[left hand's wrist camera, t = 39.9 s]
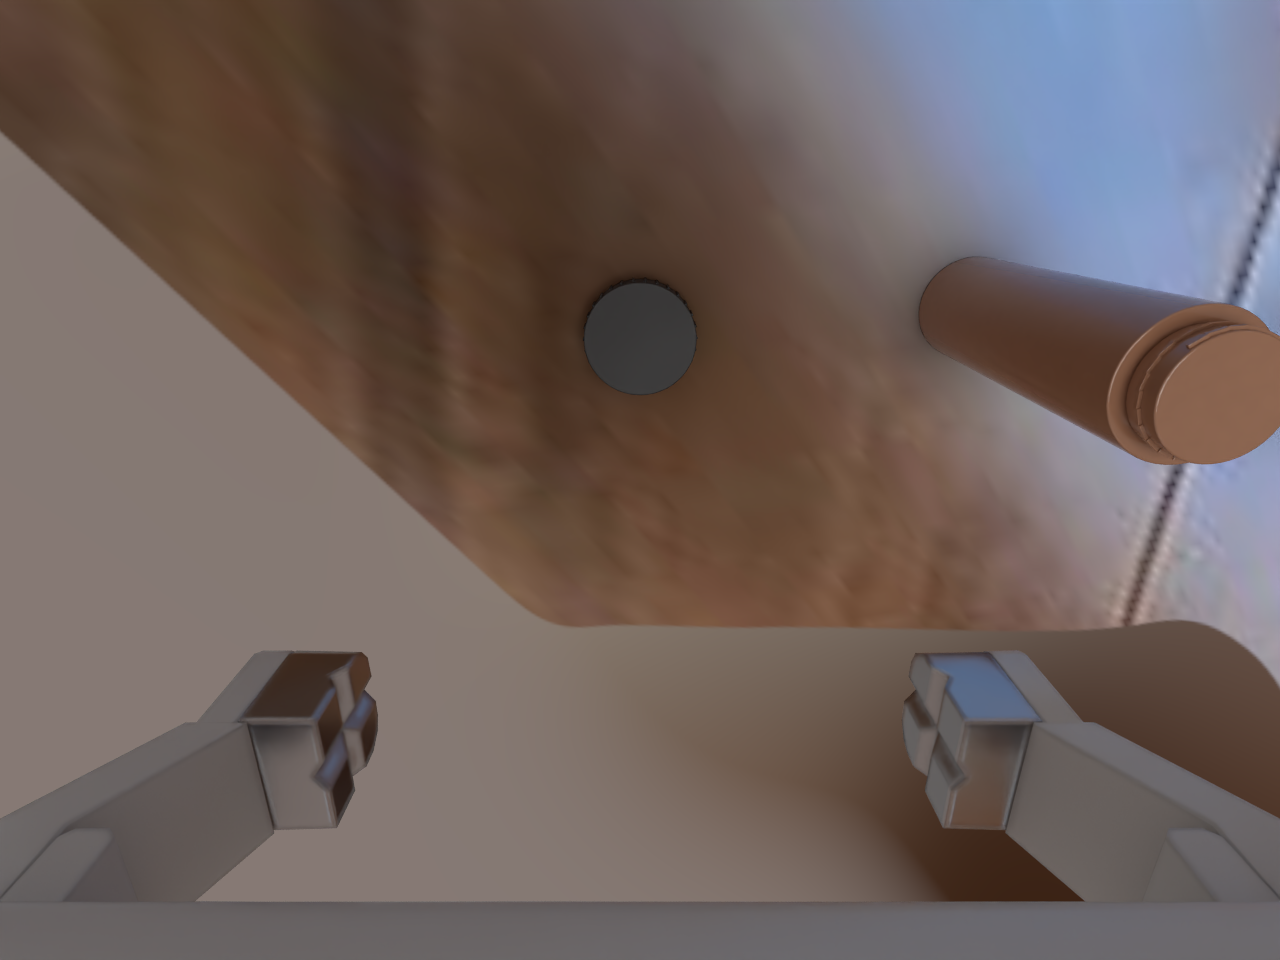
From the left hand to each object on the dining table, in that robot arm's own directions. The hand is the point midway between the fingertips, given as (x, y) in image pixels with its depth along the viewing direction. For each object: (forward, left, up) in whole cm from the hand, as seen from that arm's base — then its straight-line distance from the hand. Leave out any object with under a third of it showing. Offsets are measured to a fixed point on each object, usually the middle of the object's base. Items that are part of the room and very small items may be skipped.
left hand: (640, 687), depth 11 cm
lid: (0, 0, -28) cm, 28 cm away
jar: (-9, +15, -29) cm, 34 cm away
